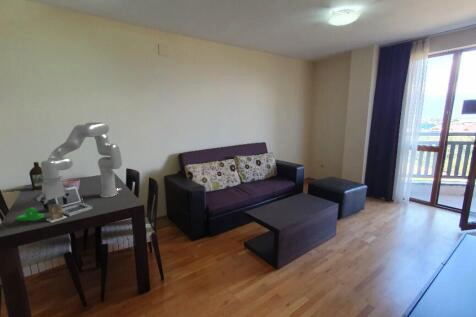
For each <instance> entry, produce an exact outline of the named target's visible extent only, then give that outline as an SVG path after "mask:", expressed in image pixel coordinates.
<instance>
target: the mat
mask: <svg viewBox="0 0 476 317" xmlns="http://www.w3.org/2000/svg"><path fill="white" fill-rule="evenodd" d="M66 218H68V217H67V215H66V216H65V214H63V218H60V219H56V220H52V219H50V217H49V218H46V219H45V220H46V221H48V222H49V223H51V224H52V223H54V222H57V221H58V222H59V221H60V220H64V219H66Z"/></svg>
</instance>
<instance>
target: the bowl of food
mask: <svg viewBox="0 0 476 317" xmlns="http://www.w3.org/2000/svg"><path fill="white" fill-rule="evenodd" d="M60 181H61V182H62V184H63V187H64V189H66V188H70V187H75V186H76V188H77V191H78V192H79V190H80V189H79V188H80V183H81V179H79V178H65V179H60Z"/></svg>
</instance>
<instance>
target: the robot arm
mask: <svg viewBox="0 0 476 317" xmlns="http://www.w3.org/2000/svg"><path fill="white" fill-rule="evenodd" d="M109 130H110V127H109V124H107V123H105V122H93V121H92V122H91V121H90V122H86V123H84V124H77V125H75V126H74V127H73V129H72V131H71V132H70V133H69V135H68V136H67V139H66V140H65V142H63V143H62V144H60V145H59V146H58V147H56V148H54V150H53V151H52V152H51V154H50V155H49V156H48V159H46V160H43V161H41V162H40V167H41V169H42V174H43V180H44V183H43V184H42V190H41V192H42V193H41V194H40V195H39V196H37V197H36V198H35V199H36V201H38V202H39V203H41V204H42V205H43V209H44V210H46V211H49V207H48V206H49V204H48V201H50V200H55V198H58V197H63V204H67V197H68V195H69V193H70V191H71V190H68V189H64V187H63V184H62V182H61V181H60V180H63V176H60V174H59V173H60V172H59V171H65V170H70V169H71V168H72V167H73V164H74V162H73V160H71V159H70V158H68V157H65V155H67V154H69V153H71V152H74V151H76V150H79V149H80V147H81V146H82V144H83V142H84V141H85V139H86V138H94V139H95V144H96V149H97V152H98V154H99V155H101V156H103V157H100V158H99V159H98V161H97V165H98V168H99V173H100V181H101V182H100V183H101V190H102V193H101V194H100V197H101V198H111V197H116V196H118V195H119V192H120V191H122V188H121V187H119V188H117V187H116V179H115V176H116V174H115V172H114V170H119V169H121V167H122V165H123V160H122V154H121V149H120V147H119V146H118V145H117V144H116V143H110V140H109V136H108V135H107V134H108V132H109ZM65 191H67V193H66V194H65ZM117 194H118V195H117ZM115 195H116V196H115ZM42 199H43V200H42Z"/></svg>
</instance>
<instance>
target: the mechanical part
mask: <svg viewBox="0 0 476 317" xmlns="http://www.w3.org/2000/svg"><path fill="white" fill-rule="evenodd" d="M44 217H45V214H44V213H38V209H37V208H36V207H35V206H34V207H33V206H32V207H29V208H27V209H26V210H25V214H22V215H19V216H17V217H16V221H35V222H36V221H38V220H40V219H42V218H44Z"/></svg>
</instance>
